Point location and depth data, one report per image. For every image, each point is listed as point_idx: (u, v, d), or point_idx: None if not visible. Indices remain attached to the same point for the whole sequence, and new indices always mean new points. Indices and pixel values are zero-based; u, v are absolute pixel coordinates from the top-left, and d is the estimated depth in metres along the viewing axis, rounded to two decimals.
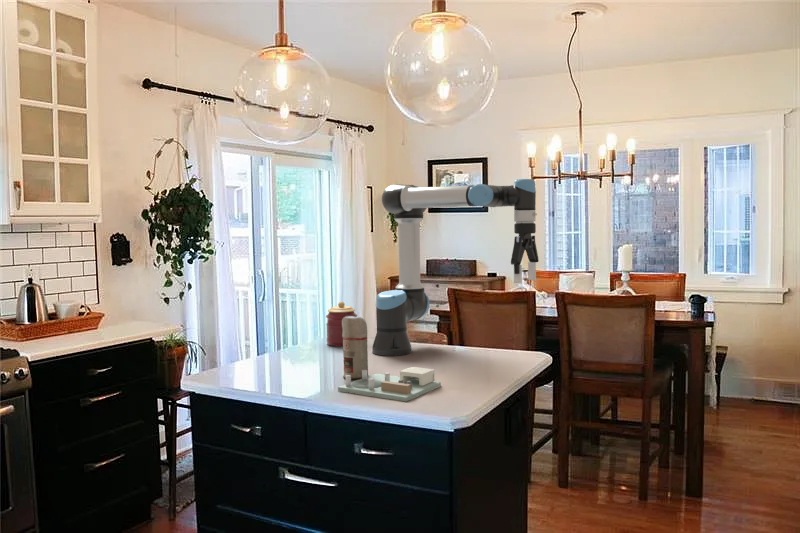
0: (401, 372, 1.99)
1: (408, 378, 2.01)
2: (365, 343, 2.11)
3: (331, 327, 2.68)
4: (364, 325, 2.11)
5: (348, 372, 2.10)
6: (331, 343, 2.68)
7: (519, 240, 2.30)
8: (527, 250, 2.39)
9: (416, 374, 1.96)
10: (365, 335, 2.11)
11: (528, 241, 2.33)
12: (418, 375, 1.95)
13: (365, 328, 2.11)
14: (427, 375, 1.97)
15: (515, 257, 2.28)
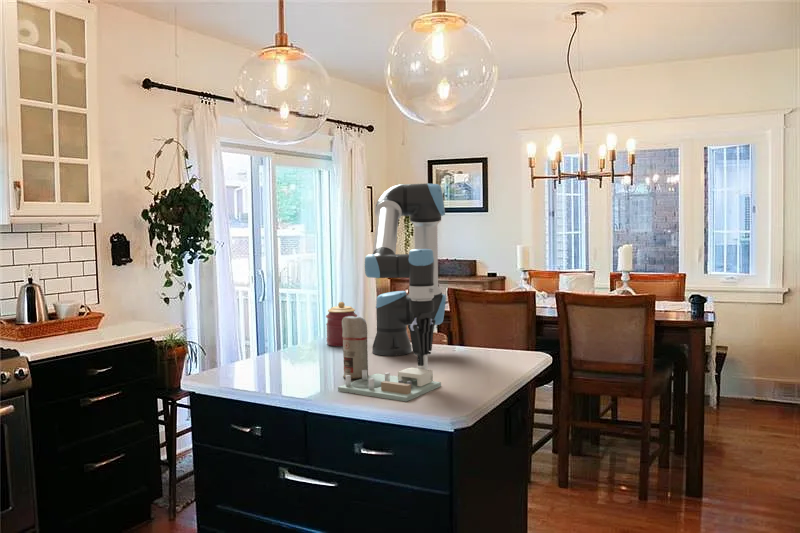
0: (399, 373, 1.98)
1: (406, 379, 2.00)
2: (365, 343, 2.11)
3: (331, 327, 2.68)
4: (364, 325, 2.11)
5: (348, 372, 2.10)
6: (331, 343, 2.68)
7: (414, 330, 1.96)
8: None
9: (414, 375, 1.95)
10: (365, 335, 2.11)
11: (425, 322, 1.99)
12: (416, 376, 1.95)
13: (365, 328, 2.11)
14: (425, 376, 1.96)
15: (416, 349, 1.98)
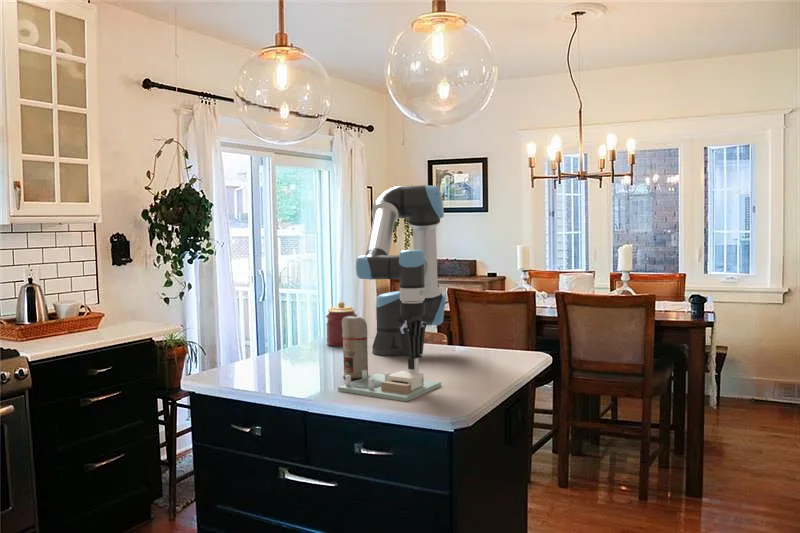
0: (389, 376, 1.93)
1: None
2: (365, 343, 2.11)
3: (331, 327, 2.68)
4: (364, 325, 2.11)
5: (348, 372, 2.10)
6: (331, 343, 2.68)
7: (404, 333, 1.92)
8: None
9: (404, 379, 1.90)
10: (365, 335, 2.11)
11: (416, 325, 1.95)
12: (406, 380, 1.90)
13: (365, 328, 2.11)
14: (416, 380, 1.92)
15: (406, 352, 1.94)
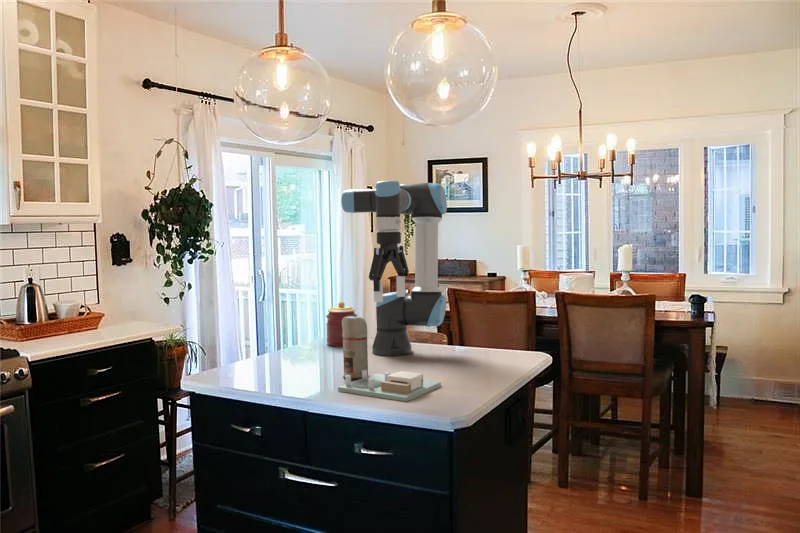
0: (389, 377, 1.93)
1: None
2: (365, 343, 2.11)
3: (331, 327, 2.68)
4: (364, 325, 2.11)
5: (348, 372, 2.10)
6: (331, 343, 2.68)
7: (379, 252, 1.98)
8: (393, 263, 2.08)
9: (404, 379, 1.90)
10: (365, 335, 2.11)
11: (391, 253, 2.02)
12: (406, 380, 1.90)
13: (365, 328, 2.11)
14: (415, 380, 1.91)
15: (373, 272, 1.96)
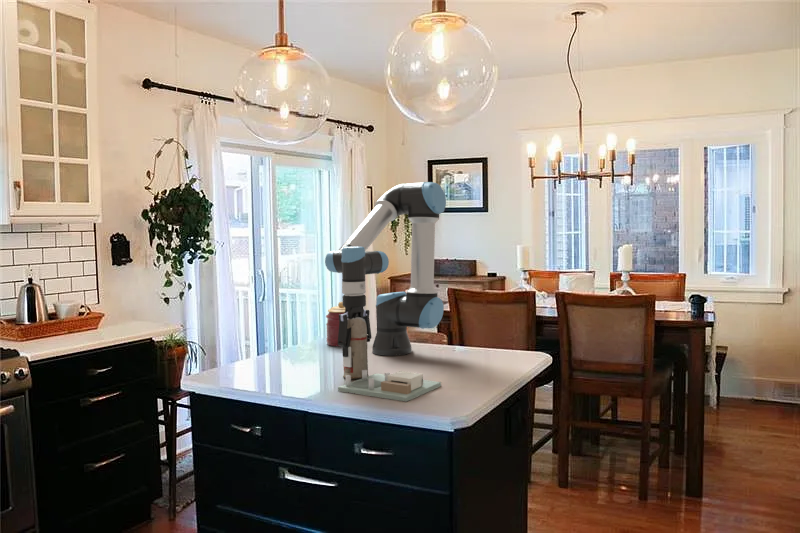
0: (389, 377, 1.93)
1: None
2: (365, 343, 2.11)
3: (331, 327, 2.68)
4: (364, 325, 2.11)
5: (348, 372, 2.10)
6: (331, 343, 2.68)
7: (343, 319, 2.07)
8: None
9: (404, 379, 1.90)
10: (365, 335, 2.11)
11: (356, 316, 2.10)
12: (406, 380, 1.90)
13: (365, 328, 2.11)
14: (415, 380, 1.91)
15: (341, 339, 2.07)
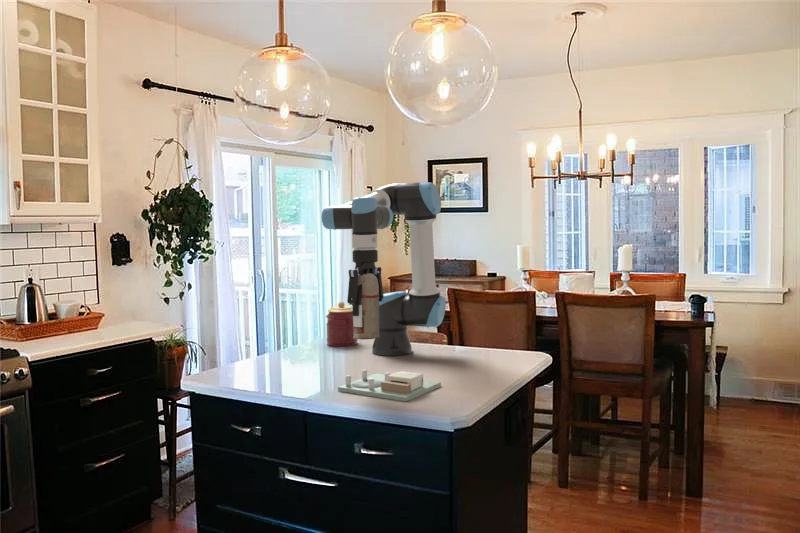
0: (389, 377, 1.93)
1: None
2: (376, 301, 1.96)
3: (331, 327, 2.68)
4: (375, 282, 1.95)
5: (358, 333, 1.95)
6: (331, 343, 2.68)
7: (354, 275, 1.91)
8: None
9: (404, 379, 1.90)
10: (376, 293, 1.95)
11: (367, 272, 1.94)
12: (406, 380, 1.90)
13: (376, 285, 1.96)
14: (415, 380, 1.91)
15: (351, 297, 1.91)
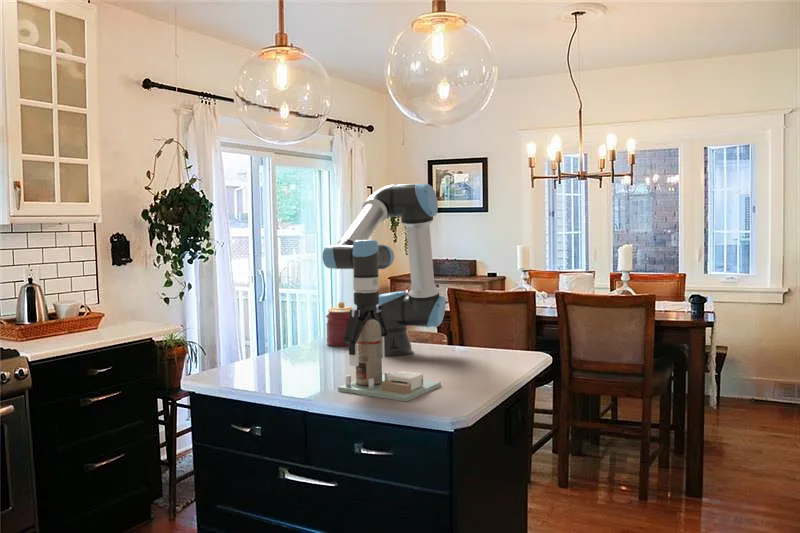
0: (389, 377, 1.93)
1: None
2: (379, 347, 1.97)
3: (331, 327, 2.68)
4: (378, 328, 1.97)
5: (361, 379, 1.96)
6: (331, 343, 2.68)
7: (354, 314, 1.91)
8: None
9: (404, 379, 1.90)
10: (379, 339, 1.97)
11: (368, 314, 1.95)
12: (406, 380, 1.90)
13: (379, 331, 1.97)
14: (415, 380, 1.91)
15: (348, 336, 1.90)
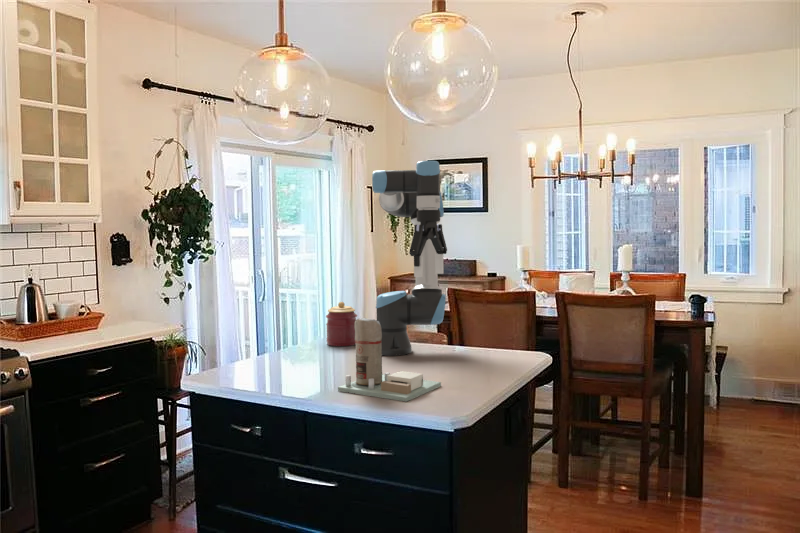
0: (389, 377, 1.93)
1: None
2: (379, 347, 1.97)
3: (331, 327, 2.68)
4: (378, 328, 1.97)
5: (361, 379, 1.96)
6: (331, 343, 2.68)
7: (419, 229, 2.05)
8: (433, 240, 2.15)
9: (404, 379, 1.90)
10: (379, 339, 1.97)
11: (431, 230, 2.09)
12: (406, 380, 1.90)
13: (379, 331, 1.97)
14: (415, 380, 1.91)
15: (414, 248, 2.04)
